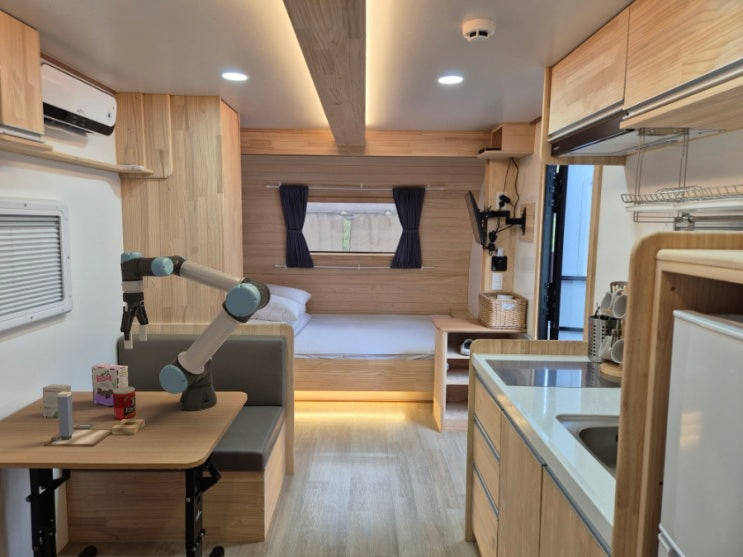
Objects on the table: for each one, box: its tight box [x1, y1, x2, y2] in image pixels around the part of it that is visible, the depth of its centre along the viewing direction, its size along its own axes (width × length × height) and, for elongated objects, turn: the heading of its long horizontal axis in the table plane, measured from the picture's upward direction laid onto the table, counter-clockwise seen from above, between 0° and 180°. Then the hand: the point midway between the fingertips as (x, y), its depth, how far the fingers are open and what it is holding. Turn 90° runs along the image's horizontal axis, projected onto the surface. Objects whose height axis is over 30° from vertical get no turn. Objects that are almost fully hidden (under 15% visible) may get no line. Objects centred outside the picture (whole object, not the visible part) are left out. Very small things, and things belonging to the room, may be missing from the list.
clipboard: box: [43, 428, 112, 447], centre depth 167 cm, size 17×13×1 cm
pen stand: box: [111, 418, 146, 436], centre depth 174 cm, size 8×8×2 cm
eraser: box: [57, 391, 74, 440], centre depth 164 cm, size 3×2×16 cm
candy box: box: [91, 362, 129, 408], centre depth 200 cm, size 14×6×16 cm, turn 73°
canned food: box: [113, 386, 137, 421], centre depth 186 cm, size 8×8×11 cm
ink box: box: [42, 383, 72, 418], centre depth 187 cm, size 9×5×12 cm, turn 84°
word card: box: [73, 423, 96, 429], centre depth 177 cm, size 6×4×1 cm, turn 91°
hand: (136, 344), depth 188 cm, fingers open, 13 cm apart
